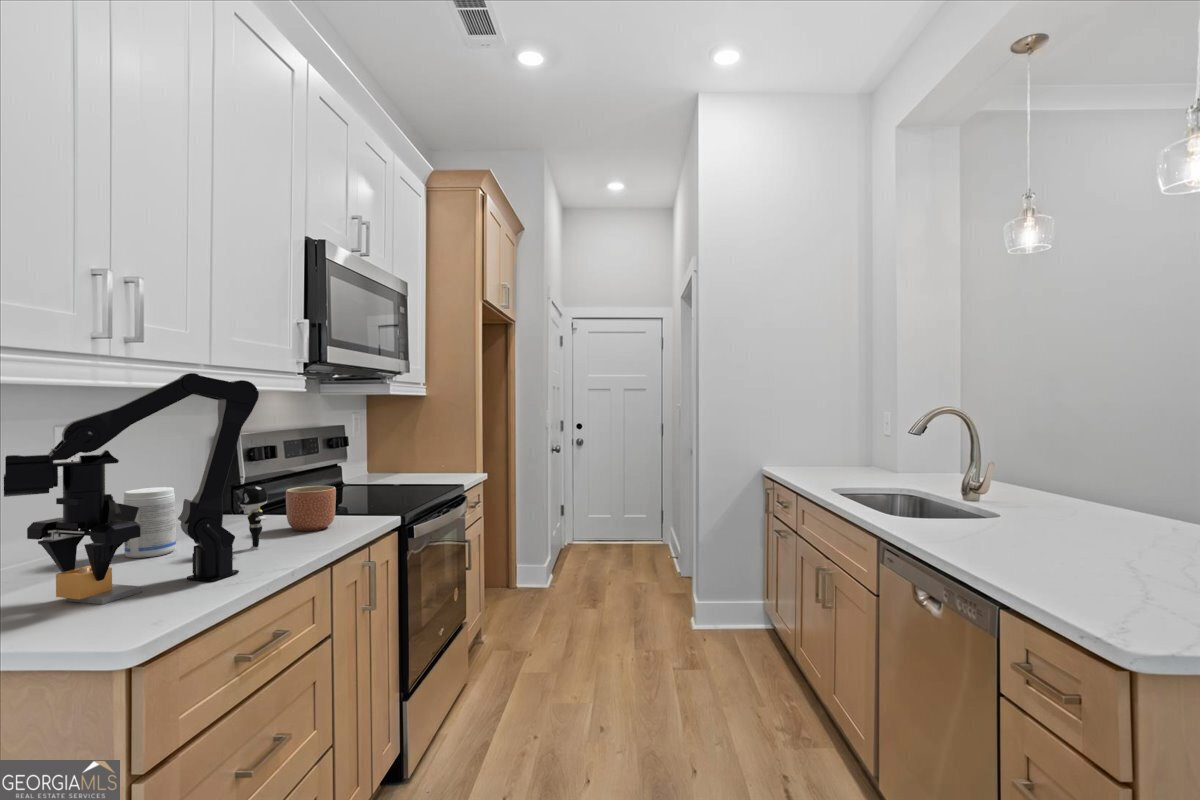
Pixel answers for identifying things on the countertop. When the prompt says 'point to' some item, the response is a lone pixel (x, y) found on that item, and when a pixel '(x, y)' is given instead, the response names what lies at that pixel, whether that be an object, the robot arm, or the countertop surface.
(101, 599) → the grey base with peg
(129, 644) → the countertop surface
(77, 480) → the robot arm
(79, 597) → the open tan tray box
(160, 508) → the supplement tub
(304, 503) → the planter
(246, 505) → the toy
